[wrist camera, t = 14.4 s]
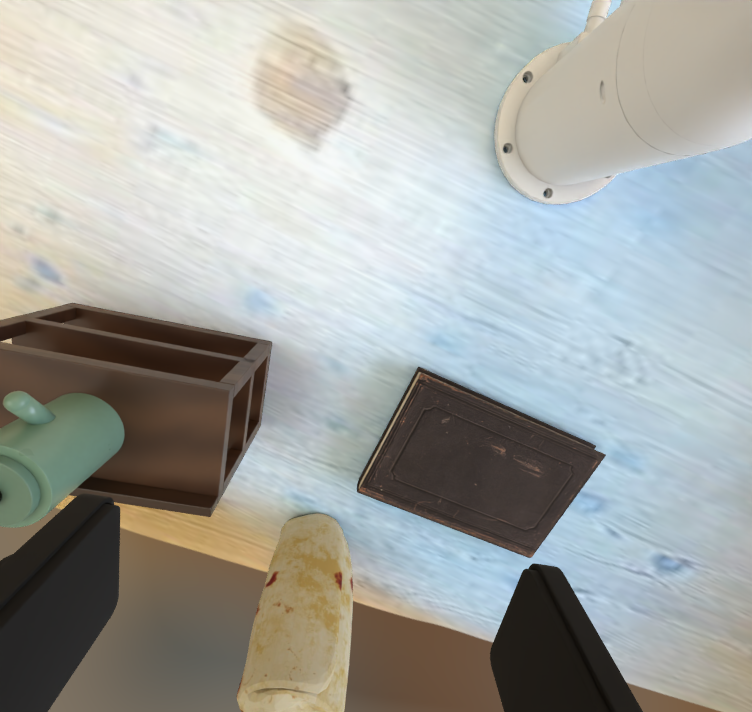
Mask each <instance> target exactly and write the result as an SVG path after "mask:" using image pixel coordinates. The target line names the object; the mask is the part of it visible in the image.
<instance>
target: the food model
mask: <svg viewBox="0 0 752 712" xmlns="http://www.w3.org/2000/svg"><path fill="white" fill-rule="evenodd" d="M352 605H353V579H352V565H351V558H350V553H349V548H348V543H347V541H346V539H345V537H344V535H343V530H342V528H341V527H340V525H339V524H338V522H337V521H336V520H335V519H333V518H332V517H330V516H328V515H325V514H318V513H315V514H309V515H304V516H300V517H297V518H294V519H290V520H289V521H287V522H286V523H285V524H284V526H283V528H282V530H281V535H280V539H279V542H278V545H277V547H276V550H275V552H274V555H273V558H272V560H271V564H270V567H269V571H268V575H267V579H266V583H265V586H264V590H263V593H262V596H261V599H260V601H259V605H258V608H257V612H256V616H255V620H254V625H253V628H252V633H251V638H250V645H249V651H248V656H247V660H246V665H245V669H244V673H243V676H242V680H241V683H240V686H239V689H238V693H237V700H238V704H239V708H240V710H241V711H242V712H344V708H345V699H346V689H347V679H348V669H349V658H350V644H351V628H352Z"/></svg>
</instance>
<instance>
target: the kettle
mask: <svg viewBox="0 0 752 712" xmlns="http://www.w3.org/2000/svg"><path fill="white" fill-rule="evenodd" d="M3 405H4V407H5V408H6V409H7V410H8V411H10V412H11V413H13V414H14V415H16V416H17V417H19V419H17V420H15V421H13V422H11V423H9V424H8V425H6V426H4V427H2V428H0V526H2V527H23V526H28V525H30V524H33V523H35V522H37V521H39V520H40V519H42V518H43V517H44V516H45V515H46V514H48V513H49V512H50V511H51V510H52V509H53V508H54V507H56V506H57V505H58V504H59V503H60V502H61V501H62V500H64V499H65V498H66V497H67V496H68V495H69V494H70V493H71V492H73V491H74V490H75V489H76V488H77V487H78V486H79V485H81V484H82V483H83V482H84V481H85V480H86V479H87V478H89V477H90V476H91V475H92V474H93V473H94V472H95V471H96V470H98V469H99V468H100V467H101V466H102V465H103V464H104V463H106V462H107V461H108V460H109V459H110V458H111V457H112V456H114V455H115V454H116V453H117V452H118V451H119V449H120V448H121V446H122V444H123V441H124V435H125V433H124V426H123V423H122V421H121V419H120V417H119V415H118V414H117V412H116V411H115V410H114V409H113V408H112V407H111V406H110V405H109V404H107V403H106V402H105V401H103V400H101V399H100V398H97V397H95V396H92V395H89V394H85V393H69V394H65V395H62V396H60V397H58V398H56V399H54V400H52V401H51V402H49V403H47V404H45V405H42V404H41V403H39V402H38V401H37V400H35V399H34V398H33V397H31V396H30V395H29V394H27V393H26V392H23V391H14V392H11V393H9V394H8V395H6V396H5V398H4V400H3Z"/></svg>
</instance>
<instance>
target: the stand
mask: <svg viewBox="0 0 752 712" xmlns="http://www.w3.org/2000/svg"><path fill="white" fill-rule="evenodd" d="M63 323H64V324H63ZM10 338H12V344H8V343H3V342H0V428H2V427H4V426H6V425H8V424H9V423H11V422H13V421H15V420H17V419H19V417H17V416H16V415H14V414H13V413H11V412H10V411H8V410H7V409H6V408H5V407H4V405H3V400H4V398H5V396H6V395H8V394H9V393H11V392H14V391H23V392H26V393H27V394H29V395H30V396H31V397H33V398H34V399H35V400H37V401H38V402H39V403H41V404H42V405H45V404H47V403H49V402H51V401H52V400H54V399H56V398H58V397H60V396H62V395H65V394H69V393H85V394H89V395H92V396H95V397H97V398H100V399H101V400H103V401H105V402H106V403H107V404H109V405H110V406H111V407H112V408H113V409H114V410H115V411H116V412H117V414H118V415H119V417H120V419H121V421H122V423H123V426H124V433H125V435H124V441H123V444H122V446H121V448H120V449H119V451H118V452H117V453H116V454H115V455H114V456H112V457H111V458H110V459H109V460H108V461H107V462H106V463H104V464H103V465H102V466H101V467H100V468H99V469H98V470H96V471H95V472H94V473H93V474H92V475H91V476H90V477H89V478H87V479H86V480H85V481H84V482H83V483H82V484H81V485H79V486H78V487H77V488H76V489H75V490H74V491H73V492H71V493H70V494H69V495H72V496H78V495H80V494H83V493H86V494H93V495H99V496H106V497H111V498H112V499H113V500H114V502H117V503H123V504H129V505H136V506H142V507H149V508H155V509H162V510H168V511H175V512H181V513H187V514H194V515H200V516H207V517H211V515H212V513H213V511H214V509H215V508H216V506H217V504H218V502H219V500H220V498H221V497H222V495H223V493H224V491H225V490H226V488H227V486H228V484H229V482H230V480H231V479H232V477H233V475H234V473H235V471H236V470H237V468H238V466H239V464H240V462H241V461H242V459H243V457H244V455H245V453H246V451H247V450H248V448H249V446H250V444H251V442H252V441H253V439H254V437H255V435H256V433H257V431H258V430H259V428H260V426H261V419H262V412H263V404H264V397H265V390H266V383H267V375H268V368H269V361H270V354H271V346H272V342H270V341H265V340H260V339H255V338H249V337H244V336H239V335H234V334H229V333H224V332H219V331H214V330H208V329H203V328H198V327H193V326H188V325H183V324H178V323H173V322H167V321H162V320H157V319H152V318H147V317H142V316H137V315H132V314H126V313H121V312H116V311H111V310H106V309H101V308H96V307H90V306H85V305H80V304H75V303H70V304H66V305H62V306H58V307H54V308H50V309H46V310H42V311H37V312H33V313H29V314H25V315H20V316H16V317H12V318H8V319H4V320H0V341H3V340H7V339H10Z"/></svg>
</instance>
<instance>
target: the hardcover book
mask: <svg viewBox="0 0 752 712" xmlns="http://www.w3.org/2000/svg"><path fill="white" fill-rule="evenodd" d="M595 447H596V446H595V445H593V444H591V443H589V442H586V441H584V440H582V439H580V438H577V437H575V436H573V435H571V434H568V433H566V432H564V431H562V430H559V429H557V428H555V427H553V426H550V425H548V424H546V423H544V422H541V421H539V420H537V419H535V418H532V417H530V416H528V415H526V414H523V413H521V412H519V411H517V410H514V409H512V408H510V407H508V406H505V405H503V404H501V403H499V402H497V401H494V400H492V399H490V398H488V397H485V396H483V395H481V394H479V393H476V392H474V391H472V390H470V389H467V388H465V387H463V386H461V385H458V384H456V383H454V382H452V381H449V380H447V379H445V378H443V377H440V376H438V375H436V374H434V373H431V372H429V371H427V370H425V369H422V368H420V367H418V369H417V371H416V373H415V374H414V376H413V378H412V380H411V382H410V384H409V386H408V388H407V390H406V391H405V393H404V395H403V397H402V399H401V401H400V403H399V405H398V407H397V408H396V410H395V412H394V414H393V416H392V418H391V420H390V422H389V424H388V425H387V427H386V429H385V431H384V433H383V435H382V437H381V439H380V441H379V442H378V444H377V446H376V448H375V450H374V452H373V454H372V456H371V458H370V459H369V461H368V463H367V465H366V467H365V469H364V471H363V473H362V475H361V476H360V478H359V481H358V485H357V492H358V493H361V494H363V495H366V496H368V497H371V498H374V499H376V500H379V501H382V502H384V503H387V504H389V505H392V506H395V507H397V508H400V509H403V510H405V511H408V512H410V513H413V514H416V515H418V516H421V517H424V518H426V519H429V520H431V521H434V522H437V523H439V524H442V525H444V526H447V527H450V528H452V529H455V530H458V531H460V532H463V533H465V534H468V535H471V536H473V537H476V538H479V539H481V540H484V541H486V542H489V543H492V544H494V545H497V546H499V547H502V548H505V549H507V550H510V551H513V552H515V553H518V554H520V555H523V556H526V557H528V558H531V557H532V556H533V555H534V553H535V552H536V551H537V549H538V548H539V546H540V545H541V544H542V542H543V541H544V540H545V538H546V537H547V535H548V534H549V533H550V531H551V530H552V529H553V527H554V526H555V524H556V523H557V522H558V520H559V519H560V518H561V516H562V515H563V514H564V512H565V511H566V509H567V508H568V507H569V505H570V504H571V503H572V501H573V500H574V498H575V497H576V496H577V494H578V493H579V492H580V490H581V489H582V487H583V486H584V485H585V483H586V482H587V481H588V479H589V478H590V476H591V475H592V474H593V472H594V471H595V470H596V468H597V467H598V465H599V464H600V463H601V461H602V460H603V459H604V457H605V456H606V455H605V454H603V453H601V452H598V451H596V450H594V449H595Z"/></svg>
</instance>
